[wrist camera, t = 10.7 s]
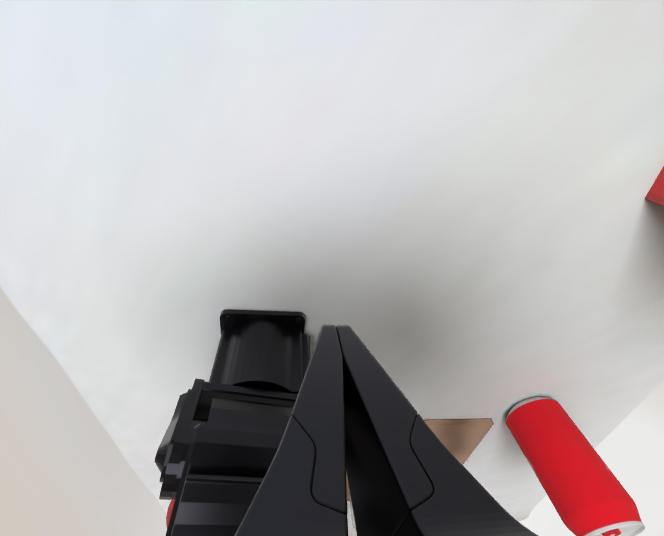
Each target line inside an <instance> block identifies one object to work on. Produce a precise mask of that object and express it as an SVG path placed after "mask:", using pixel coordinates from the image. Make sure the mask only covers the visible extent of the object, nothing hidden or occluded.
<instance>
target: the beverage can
mask: <svg viewBox="0 0 664 536" xmlns="http://www.w3.org/2000/svg"><path fill="white" fill-rule="evenodd" d="M506 424H507V426H508V427H509V429H510V431H511V433H512V434H513V436H514V438H515V439H516V441H517V443H518V445H519V446H520V448H521V450H522V452H523V453H524V455H525V457H526V458H527V460H528V462H529V464H530V465H531V467H532V469H533V471H534V472H535V474H536V476H537V478H538V479H539V481H540V483H541V484H542V486H543V488H544V490H545V491H546V493H547V495H548V496H549V498H550V500H551V502H552V503H553V505H554V507H555V509H556V510H557V512H558V514H559V516H560V517H561V519H562V521H563V522H564V524H565V525H566V526H567V528H568V529H569V530H570V531H572V532H573V533H574V534H575V535H576V536H635V535H637V534H639V533H641V532H642V531H643V530H644V529H645V526H644V524H643V523H642V522H641V519H640V516H639V513H638V509H637V507H636V504H635V502H634V501H633V499H632V498H631V497H630V496H629V494H628V493H627V492H626V490H625V489H624V488H623V486H622V485H621V484H620V482H619V481H618V480H617V478H616V477H615V476H614V475H613V473H612V472H611V471H610V469H609V468H608V467H607V465H606V464H605V463H604V462H603V460H602V459H601V458H600V456H599V455H598V454H597V452H596V451H595V450H594V448H593V447H592V446H591V444H590V443H589V442H588V441H587V439H586V438H585V437H584V435H583V434H582V433H581V431H580V430H579V429H578V427H577V426H576V425H575V424H574V422H573V421H572V420H571V418H570V417H569V416H568V414H567V413H566V412H565V410H564V409H563V408H562V407H561V405H560V404H559V403H558V402H557V401H556V400H553V399H550V398H544V397H533V398H529V399H526V400H523V401H521V402H519V403H518V404H516V405H515V406H514V407H513V408H512V409H511V410H510V412H509V414H508V416H507V419H506Z"/></svg>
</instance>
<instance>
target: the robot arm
mask: <svg viewBox="0 0 664 536" xmlns="http://www.w3.org/2000/svg"><path fill="white" fill-rule="evenodd" d="M226 316H229V317H226ZM297 318H301V319H297ZM304 325H305V315H304V314H303V313H301V312H279V311H248V310H224V311H222V312H221V315H220V327H221V339H220V342H219V346H218V350H217V354H216V357H215V361H214V365H213V369H212V372H211V376H210V380H209V382H205V381H204V380H201V379H195V382H194V385H193V388H192V390H191V389H189V390H188V392H187V393H185V394H182V395H180V398H179V401H178V403H177V406H176V409H175V412H174V415H173V418H172V420H171V423H170V425H169V427H168V429H167V431H166V433H165V436H164V438H163V440H162V442H161V444H160V446H159V448H158V451H157V454H156V457H155V463H156V465H157V466H158V468H159V470H160V471H161V477H160V482H163V484H162V488H161V492H160V498H159V499H167V500H171V499H175V502H174V506H173V509H172V513H171V517H170V521H169V525H168V529H167V533H166V536H348V521H347V484H346V472H347V477H348V483H349V489H350V495H351V501H352V507H353V513H354V519H355V525H356V531H357V536H538V535H536V534H535V533H533V532H531V531H530V530H529V529H527V528H526V527H524V526H523V525H522V524H520V523H519V522H518V521H517V520H515V519H514V518H513V517H512V516H511V515H510V514H509V513H508V512H507V511H506V510H505V509H504V508H503V507H502V506H501V505H500V504H499V503H498V502H497V501H496V500H495V499H494V498H493V497H492V496H491V495H490V494H489V493H488V492H487V491H486V490H485V489H484V487H483V486H482V485H481V484H480V483H479V482H478V481H477V480H476V479H475V478H474V477H473V476H472V475H471V474H470V473H469V472H468V470H467V469H466V468H465V467H464V466H463V465H462V464H461V463H460V462H459V461H458V460H457V459H456V458H455V457H454V455H453V454H452V453H451V452H450V451H449V450H448V449H447V448H446V447H445V445H444V444H443V443H442V442H441V441H440V440H439V438H438V437H437V436H436V435H435V434H434V432H433V431H432V430H431V429H430V428H429V426H428V425H427V424H426V423H425V421H424V420H423V419H422V417H421V416H420V415H419V414H417V411H416V410H415V409H414V407H413V406H412V405H411V404H410V402H409V401H408V400H407V399H406V397H405V396H404V395H403V393H402V392H401V391H400V390H399V388H398V387H397V386H396V385H395V383H394V382H393V381H392V379H391V378H390V377H389V376H388V374H387V373H386V372H385V371H384V369H383V368H382V367H381V365H380V364H379V363H378V362H377V360H376V359H375V358H374V357H373V355H372V354H371V353H370V351H369V350H368V349H367V348H366V346H365V345H364V344H363V342H362V341H361V340H360V339H359V337H358V336H357V335H356V334H355V332H354V331H353V330H352V328H351V327H350V326H347V325H337V326H335V325H323V326H322V328H321V331H320V334H319V336H318V339H317V342H316V345H315V348H314V351H313V353H312V356H311V359H310V340H309V336H308V335H307V334H304Z"/></svg>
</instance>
